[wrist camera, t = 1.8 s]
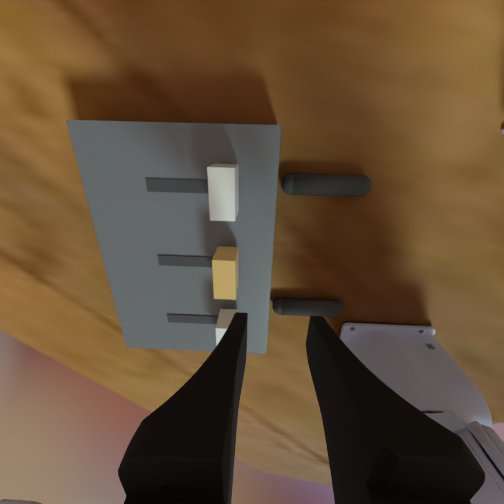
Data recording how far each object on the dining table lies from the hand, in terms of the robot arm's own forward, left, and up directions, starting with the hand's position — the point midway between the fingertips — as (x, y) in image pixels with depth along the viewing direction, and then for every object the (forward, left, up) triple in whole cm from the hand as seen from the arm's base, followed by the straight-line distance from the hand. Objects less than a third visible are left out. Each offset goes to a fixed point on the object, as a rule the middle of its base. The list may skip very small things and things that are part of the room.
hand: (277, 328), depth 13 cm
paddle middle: (+3, 0, -7) cm, 8 cm away
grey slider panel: (+7, 0, -10) cm, 13 cm away
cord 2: (-4, +6, -11) cm, 13 cm away
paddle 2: (+4, +6, -7) cm, 10 cm away
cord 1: (-4, -6, -11) cm, 13 cm away
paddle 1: (+4, -6, -7) cm, 10 cm away
